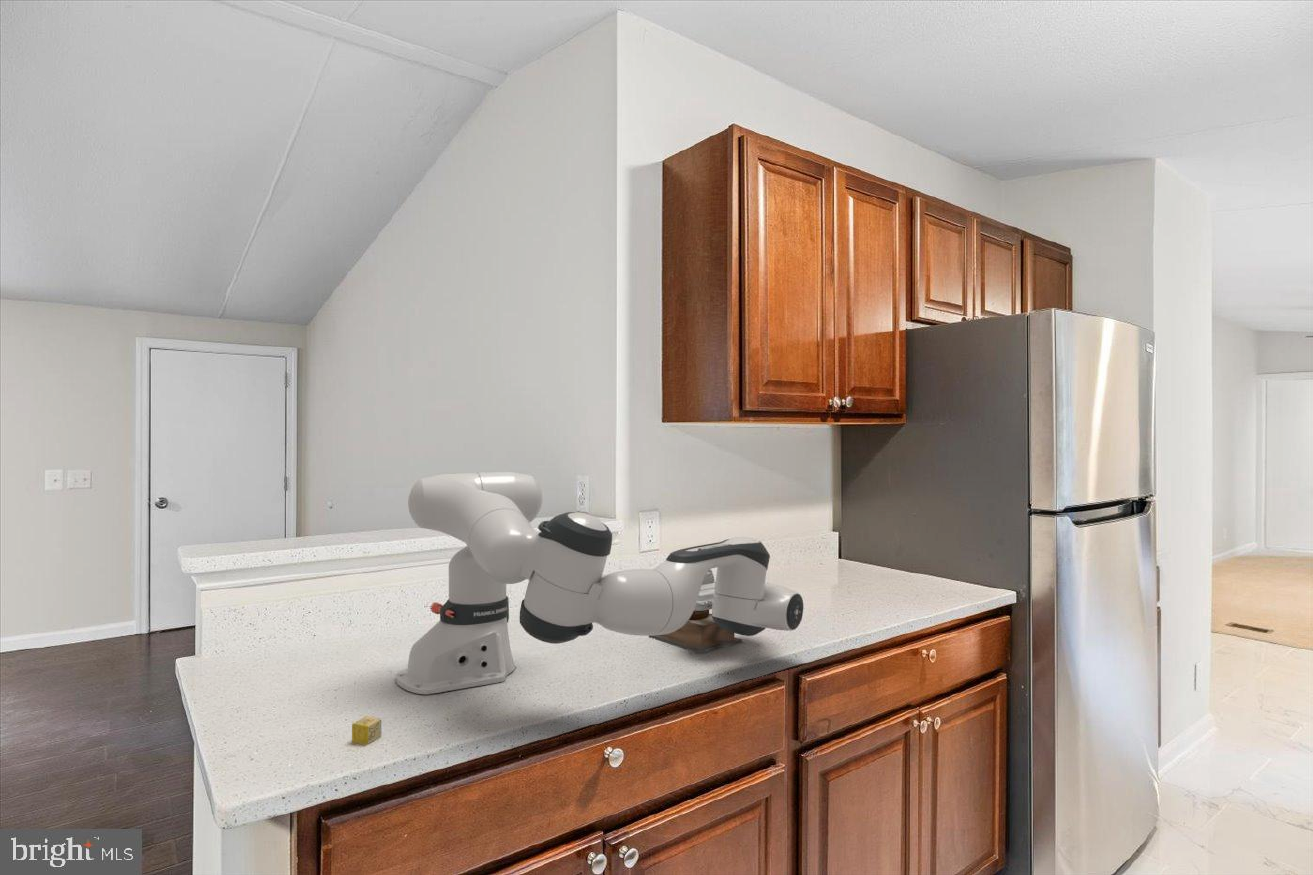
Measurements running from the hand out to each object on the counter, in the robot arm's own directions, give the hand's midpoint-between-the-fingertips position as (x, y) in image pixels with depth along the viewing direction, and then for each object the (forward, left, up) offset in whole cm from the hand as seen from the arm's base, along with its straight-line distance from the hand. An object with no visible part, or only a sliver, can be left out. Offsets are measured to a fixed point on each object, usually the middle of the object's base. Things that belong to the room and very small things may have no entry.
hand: (693, 588), depth 168 cm
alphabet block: (-75, -7, -12) cm, 76 cm away
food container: (0, -1, -7) cm, 7 cm away
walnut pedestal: (0, 0, -11) cm, 12 cm away
